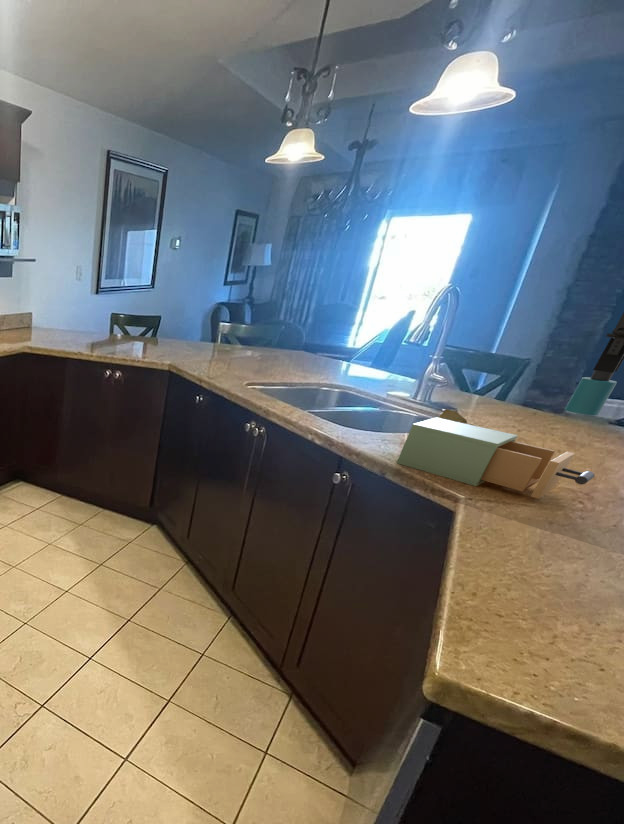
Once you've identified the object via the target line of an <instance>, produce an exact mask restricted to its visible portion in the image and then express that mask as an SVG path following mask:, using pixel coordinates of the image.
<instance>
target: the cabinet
mask: <svg viewBox="0 0 624 824" xmlns="http://www.w3.org/2000/svg"><path fill="white" fill-rule="evenodd" d="M518 436H519V435H517V434H515V433H509V432H505V431H499V430H496V429H491V428H487V427H483V426H478V425H474V424H473V425H472V424H469V423H467V424H464V423H460V422H455V421H450V420H446V419H441V418H439V417H438V416H437V417H436V416H435V417H432V418H429V419H425V420H423V421H418V422H415V423H412V425H411V427H410V430H409V432H408V435H407V437H406V439H405V442H404V444H403V446H402V448H401V451H400V453H399V455H398V458H397V461H396V464H398V465H402V466H406V467H408V468H412V469H414V470H415V469H416V470H419V471H422V472H426V473H429V474H433V475H436V476H440V477H442V478H446V479H450V480H453V481H457V482H460V483H463V484H467V485H470V486H473V487H478V486H480V485H482V484H484V483H485V482H486V481H484V480H481V478H482V476H483V474H484V472H485V470H486V468H487V466H488V464H489V462H490V460H491V459H492V457H493V455H494V453H495V451H496V449H497V447H499V446H501V445H503V444H506V443H508V442H510V441H514V442H516V440H517V438H518Z"/></svg>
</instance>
